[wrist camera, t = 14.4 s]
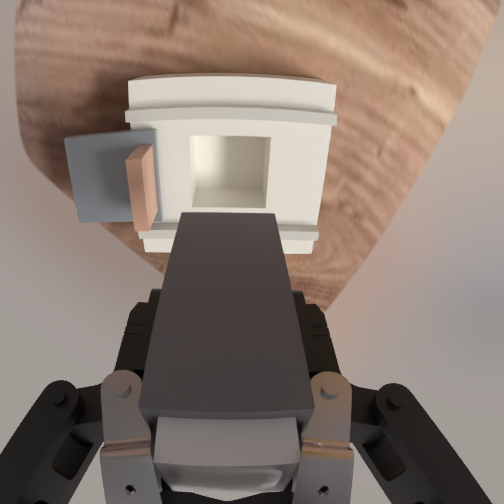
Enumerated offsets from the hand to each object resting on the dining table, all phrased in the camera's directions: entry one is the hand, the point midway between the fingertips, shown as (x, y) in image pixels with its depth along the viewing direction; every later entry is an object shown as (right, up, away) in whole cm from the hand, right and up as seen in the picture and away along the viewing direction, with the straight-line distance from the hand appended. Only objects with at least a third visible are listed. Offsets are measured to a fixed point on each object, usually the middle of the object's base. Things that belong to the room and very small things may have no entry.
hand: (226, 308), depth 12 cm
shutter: (-9, +8, +10) cm, 16 cm away
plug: (0, +2, +3) cm, 4 cm away
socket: (-1, +10, +14) cm, 17 cm away
